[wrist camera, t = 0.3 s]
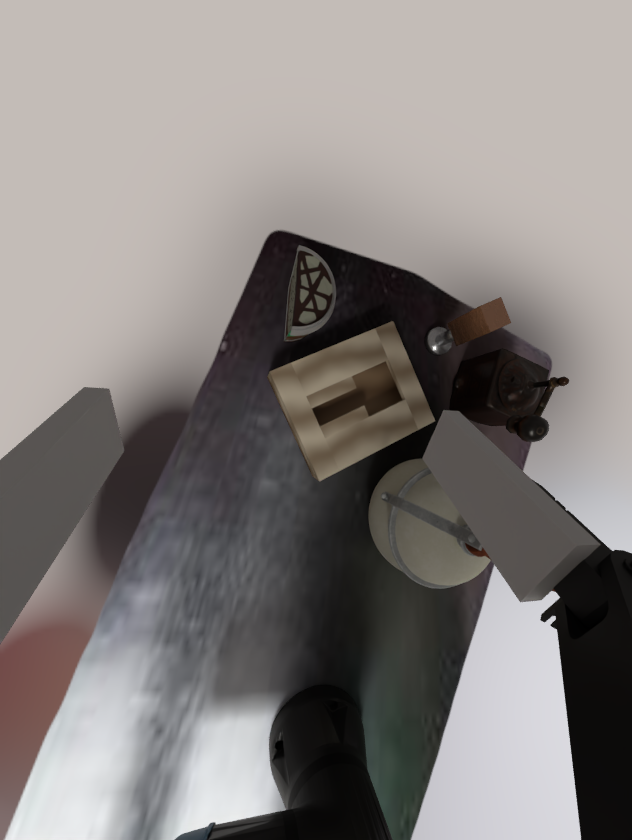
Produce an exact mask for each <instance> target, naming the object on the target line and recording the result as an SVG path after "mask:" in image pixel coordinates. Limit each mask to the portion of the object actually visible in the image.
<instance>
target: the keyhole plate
mask: <svg viewBox="0 0 632 840" xmlns="http://www.w3.org/2000/svg"><path fill="white" fill-rule="evenodd" d="M267 378H268V380H269V382H270V384H271V387H272V389H273V391H274V393H275V395H276V398H277V400H278V402H279V404H280V406H281V408H282V411H283V413H284V415H285V417H286V419H287V422H288V424H289V426H290V428H291V430H292V433H293V435H294V437H295V439H296V441H297V443H298V446H299V448H300V450H301V452H302V454H303V457H304V459H305V461H306V463H307V465H308V468H309V470H310V472H311V474H312V476H313V477H314V478H316V479H317V480H318V481H321V480H323V479H325V478H327V477H329V476H331V475H333V474H335V473H337V472H339V471H340V470H342V469H344V468H346V467H348V466H350V465H352V464H354V463H356V462H358V461H360V460H362V459H363V458H365V457H367V456H369V455H371V454H373V453H375V452H377V451H379V450H381V449H383V448H385V447H386V446H388V445H390V444H392V443H394V442H396V441H398V440H400V439H402V438H404V437H406V436H408V435H409V434H411V433H413V432H415V431H417V430H419V429H421V428H423V427H425V426H427V425H429V424H431V423H432V422H434V421H435V419H434V417H433V414H432V412H431V410H430V407H429V405H428V403H427V400H426V398H425V395H424V393H423V391H422V388H421V386H420V384H419V381H418V379H417V376H416V374H415V372H414V369H413V367H412V365H411V362H410V360H409V357H408V355H407V353H406V350H405V348H404V346H403V343H402V341H401V338H400V336H399V334H398V331H397V329H396V327H395V324H394V322H393V321H392V322H389V323H387V324H384V325H382V326H380V327H377V328H375V329H372V330H370V331H367V332H365V333H362V334H360V335H358V336H355V337H353V338H350V339H348V340H345V341H343V342H341V343H338V344H336V345H333V346H331V347H328V348H326V349H323V350H321V351H319V352H316V353H314V354H311V355H309V356H306V357H304V358H302V359H299V360H297V361H294V362H292V363H289V364H287V365H284V366H282V367H280V368H277V369H275V370H272V371H270V372H269V375H268V377H267Z"/></svg>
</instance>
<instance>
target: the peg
mask: <svg viewBox="0 0 632 840" xmlns="http://www.w3.org/2000/svg"><path fill="white" fill-rule="evenodd" d="M509 323H511V321H510V319H509V316H508V314H507V311H506V309H505V306H504V304H503V301H502V299H501V297H500V298H498V299H495V300H493V301H491V302H489V303H486V304H484V305H481V306H479V307H477V308H476V309H474V310H472V311H470V312H468V313H466V314H464V315H462V316H461V317H459V318H457V319H455V320H453V321H451V322H449V323H447V324H448V327H449V330H446V329H445V328H442V327H436V328H434V329H432V330H430V331H429V332H428V333H427V334H426V336H425V346H426V349H427V350H428V351H429V352H430V353H431V354H433V355H441V354H444V353H446V352H448V351H449V350H450V348H451V346H452V342H453V341H455V344H456V346H458V345H460V344H463V343H465V342H468V341H470V340H473V339H475V338H478V337H480V336H483V335H485V334H488V333H490V332H492V331H494V330H497V329H499V328H501V327H503V326H505V325H507V324H509Z"/></svg>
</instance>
